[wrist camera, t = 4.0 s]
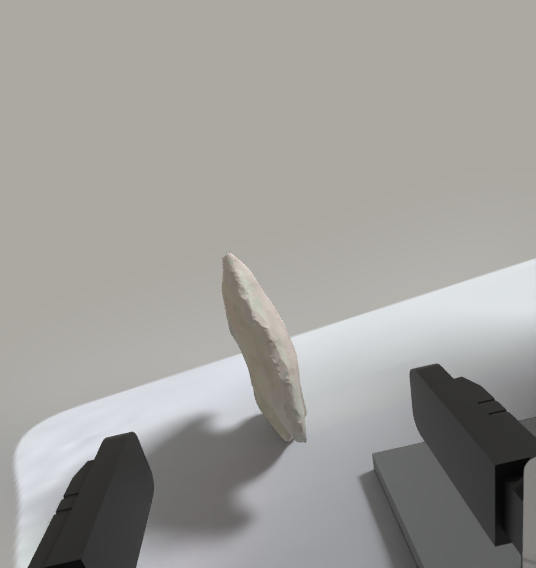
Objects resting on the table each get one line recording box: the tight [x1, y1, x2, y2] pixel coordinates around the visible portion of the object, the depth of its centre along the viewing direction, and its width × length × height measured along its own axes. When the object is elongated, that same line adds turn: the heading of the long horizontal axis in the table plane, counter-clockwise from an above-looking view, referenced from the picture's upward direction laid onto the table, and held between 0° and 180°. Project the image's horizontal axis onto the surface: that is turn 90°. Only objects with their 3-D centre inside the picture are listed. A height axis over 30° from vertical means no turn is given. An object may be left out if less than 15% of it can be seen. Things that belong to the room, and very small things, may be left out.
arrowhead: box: [222, 252, 307, 443], centre depth 17 cm, size 8×3×10 cm, turn 17°
